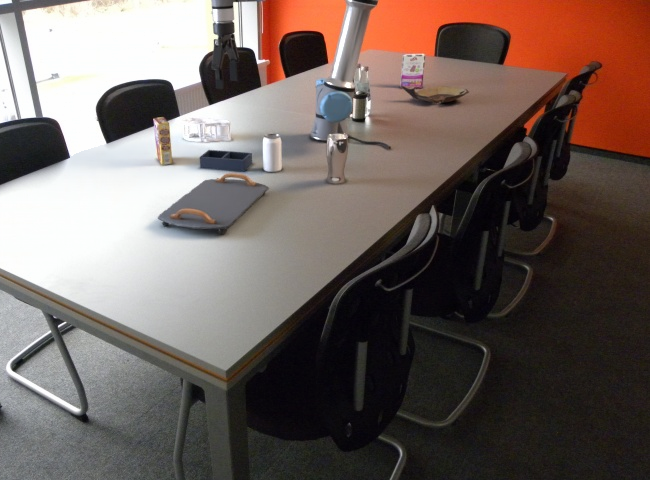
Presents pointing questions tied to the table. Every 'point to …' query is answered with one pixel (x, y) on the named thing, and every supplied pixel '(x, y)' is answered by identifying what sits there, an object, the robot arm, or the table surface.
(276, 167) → the can
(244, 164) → the tray
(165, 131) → the candy box
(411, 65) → the candy bar box
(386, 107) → the table surface
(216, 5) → the robot arm
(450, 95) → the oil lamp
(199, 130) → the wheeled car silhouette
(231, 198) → the serving tray
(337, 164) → the beer glass
